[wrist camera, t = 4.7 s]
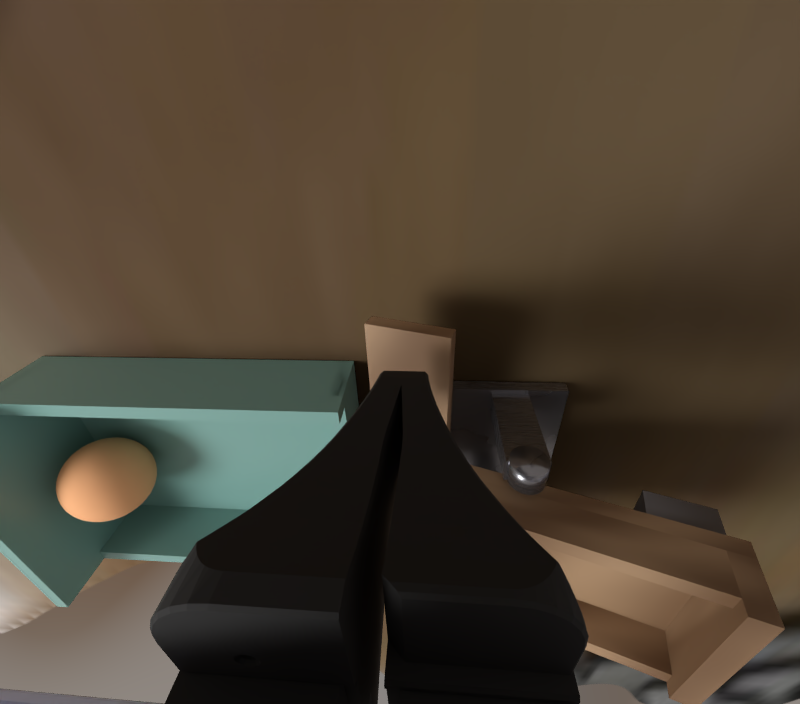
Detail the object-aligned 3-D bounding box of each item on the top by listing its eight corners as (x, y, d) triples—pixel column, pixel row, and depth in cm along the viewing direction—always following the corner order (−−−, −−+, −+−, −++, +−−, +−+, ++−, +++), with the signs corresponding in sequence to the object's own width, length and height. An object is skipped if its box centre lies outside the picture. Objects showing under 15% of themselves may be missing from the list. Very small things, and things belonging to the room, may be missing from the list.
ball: (185, 448, 21) (154, 511, 18) (140, 483, 22) (103, 549, 19) (115, 408, 19) (66, 470, 16) (69, 448, 20) (14, 515, 17)
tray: (353, 361, 17) (321, 464, 12) (370, 513, 23) (353, 625, 18) (42, 356, 18) (-106, 449, 13) (135, 503, 24) (57, 606, 19)
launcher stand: (564, 382, 17) (611, 476, 13) (532, 510, 22) (557, 610, 18) (452, 380, 17) (460, 471, 13) (445, 506, 22) (449, 603, 18)
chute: (833, 360, 10) (952, 479, 7) (672, 590, 17) (695, 708, 13) (389, 298, 14) (334, 353, 11) (399, 501, 21) (365, 574, 18)
